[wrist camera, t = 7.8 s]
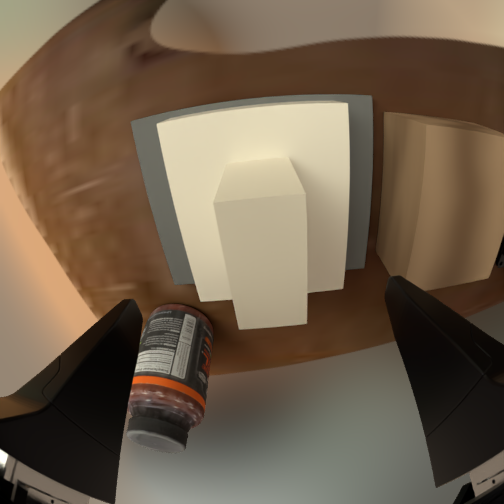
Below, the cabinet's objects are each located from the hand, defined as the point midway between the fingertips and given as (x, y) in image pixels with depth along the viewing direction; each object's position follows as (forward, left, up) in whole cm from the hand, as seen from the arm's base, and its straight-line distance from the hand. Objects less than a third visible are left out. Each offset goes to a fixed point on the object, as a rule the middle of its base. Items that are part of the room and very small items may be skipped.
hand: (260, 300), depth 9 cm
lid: (0, 0, -9) cm, 9 cm away
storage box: (-12, 0, -10) cm, 16 cm away
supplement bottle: (+8, +11, -10) cm, 17 cm away
